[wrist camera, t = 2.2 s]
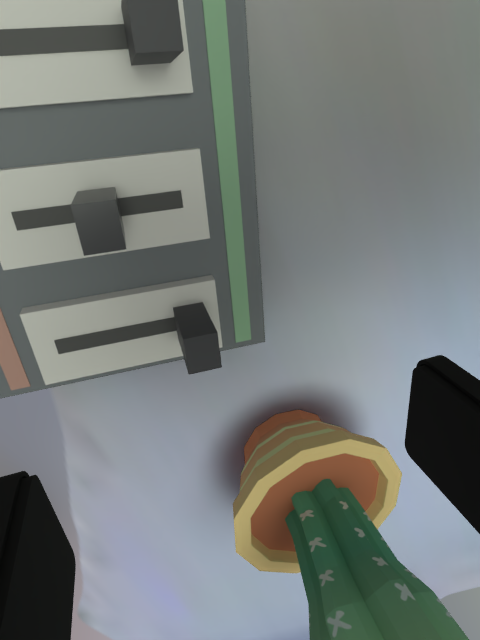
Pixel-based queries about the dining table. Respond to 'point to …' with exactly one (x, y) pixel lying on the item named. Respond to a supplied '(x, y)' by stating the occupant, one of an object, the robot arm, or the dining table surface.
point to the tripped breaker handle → (98, 221)
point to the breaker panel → (125, 188)
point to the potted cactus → (332, 530)
